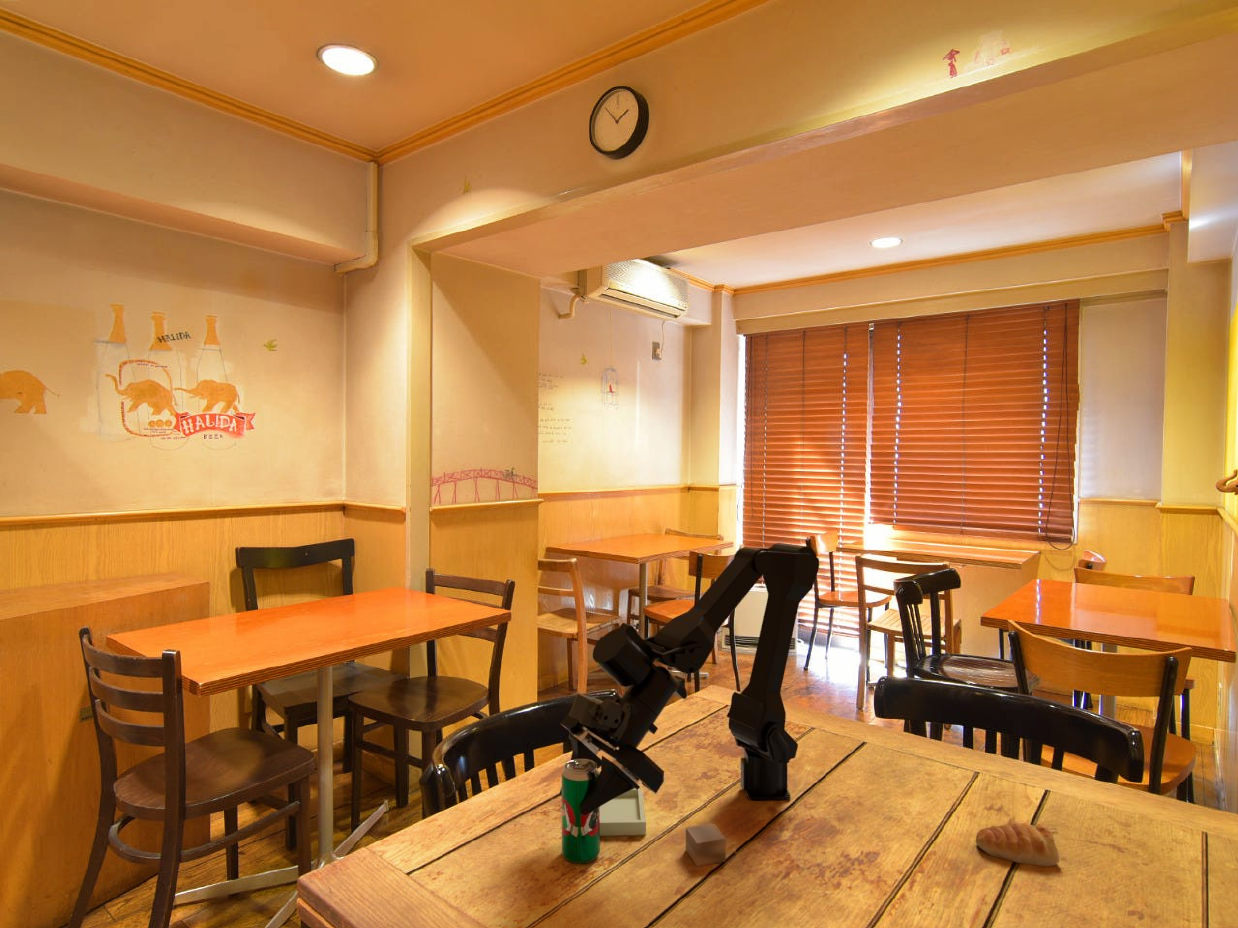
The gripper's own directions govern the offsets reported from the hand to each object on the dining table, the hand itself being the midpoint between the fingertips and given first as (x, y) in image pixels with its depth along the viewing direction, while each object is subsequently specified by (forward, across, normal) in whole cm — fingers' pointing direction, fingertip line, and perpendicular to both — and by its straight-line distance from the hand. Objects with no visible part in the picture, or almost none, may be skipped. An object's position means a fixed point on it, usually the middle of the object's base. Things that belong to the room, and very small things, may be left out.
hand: (571, 804), depth 94 cm
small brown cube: (-6, +9, +16) cm, 19 cm away
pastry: (-31, +31, +41) cm, 60 cm away
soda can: (+4, 0, +6) cm, 7 cm away
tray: (-2, -7, +12) cm, 14 cm away
